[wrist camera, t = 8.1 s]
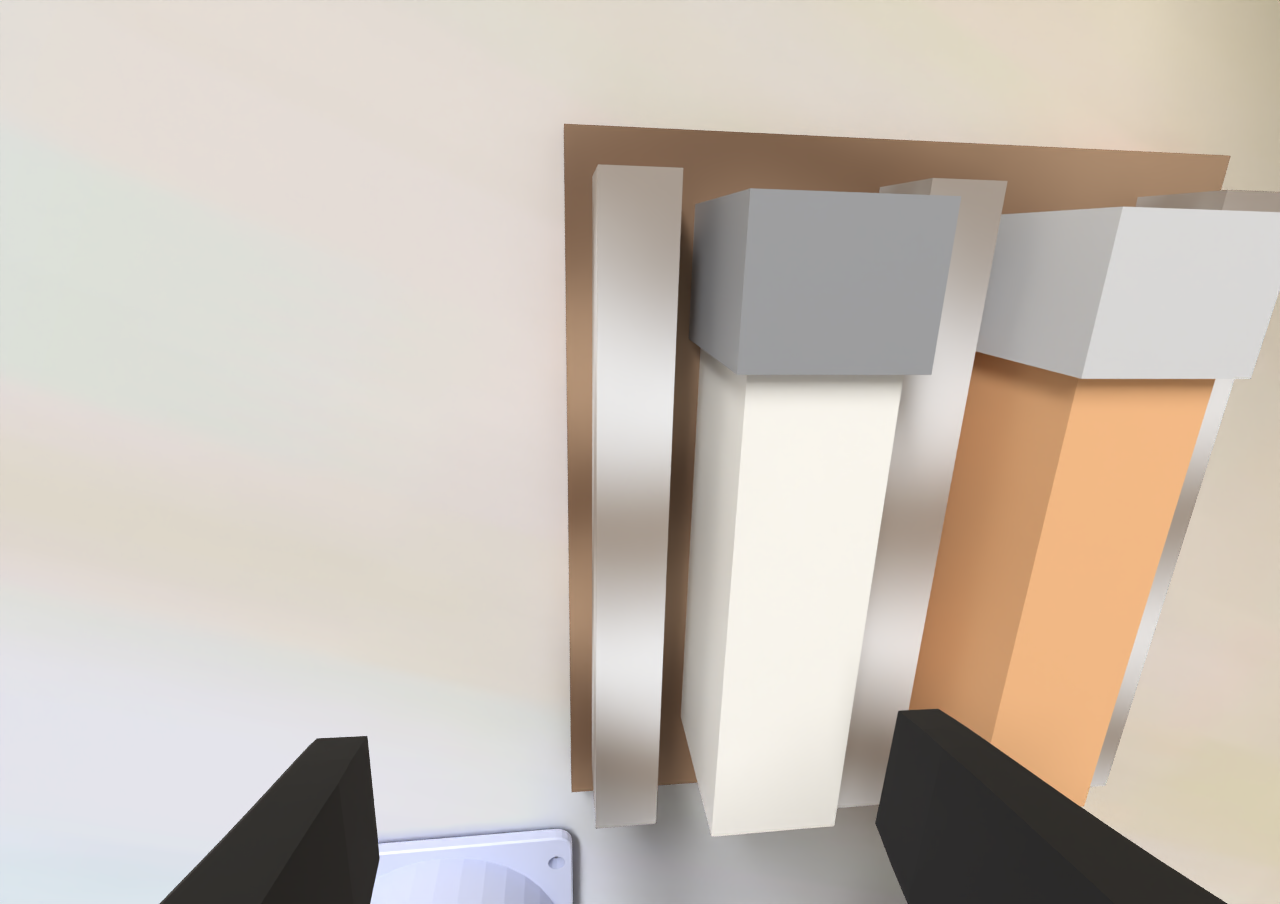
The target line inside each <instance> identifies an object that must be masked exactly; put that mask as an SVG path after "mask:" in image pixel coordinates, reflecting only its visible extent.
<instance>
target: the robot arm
mask: <svg viewBox="0 0 1280 904" xmlns="http://www.w3.org/2000/svg"><path fill="white" fill-rule="evenodd" d="M876 826H877V829H878V831H879V834H880V836H881V839H882V842H883V844H884V847H885V849H886V852H887V855H888V857H889V860H890V862H891V865H892V867H893V870H894V872H895V875H896V877H897V879H898V882H899V884H900V886H901V889H902V891H903V894H904V896H905V898H906V901H907V903H908V904H1227V903H1225V902H1224V901H1222V900H1221V899H1219V898H1218V897H1216V896H1214V895H1213V894H1211V893H1210V892H1208V891H1207V890H1205V889H1204V888H1202V887H1200V886H1199V885H1197V884H1196V883H1194V882H1193V881H1191V880H1190V879H1188V878H1186V877H1185V876H1183V875H1182V874H1180V873H1179V872H1177V871H1176V870H1174V869H1172V868H1171V867H1169V866H1168V865H1166V864H1165V863H1163V862H1161V861H1160V860H1158V859H1157V858H1155V857H1154V856H1152V855H1151V854H1149V853H1148V852H1146V851H1145V850H1143V849H1142V848H1140V847H1139V846H1137V845H1136V844H1134V843H1133V842H1131V841H1130V840H1128V839H1127V838H1125V837H1124V836H1122V835H1121V834H1120V833H1118V832H1117V831H1115V830H1114V829H1112V828H1111V827H1109V826H1108V825H1106V824H1105V823H1103V822H1102V821H1100V820H1099V819H1098V818H1096V817H1095V816H1093V815H1092V814H1090V813H1089V812H1087V811H1086V810H1085V809H1083V808H1082V807H1080V806H1079V805H1077V804H1076V803H1074V802H1073V801H1072V800H1070V799H1069V798H1067V797H1066V796H1064V795H1063V794H1062V793H1060V792H1059V791H1057V790H1056V789H1054V788H1053V787H1052V786H1050V785H1049V784H1047V783H1046V782H1044V781H1043V780H1042V779H1040V778H1039V777H1037V776H1036V775H1035V774H1033V773H1032V772H1030V771H1029V770H1027V769H1026V768H1025V767H1023V766H1022V765H1020V764H1019V763H1018V762H1016V761H1015V760H1013V759H1012V758H1010V757H1009V756H1008V755H1006V754H1005V753H1003V752H1002V751H1001V750H999V749H998V748H996V747H995V746H993V745H992V744H991V743H989V742H988V741H986V740H985V739H983V738H982V737H981V736H979V735H978V734H976V733H975V732H973V731H972V730H970V729H969V728H967V727H966V726H964V725H963V724H961V723H960V722H958V721H957V720H955V719H954V718H952V717H951V716H949V715H948V714H946V713H944V712H943V711H941V710H940V709H921V710H901V711H898V714H897V719H896V724H895V729H894V734H893V739H892V744H891V749H890V754H889V759H888V763H887V768H886V773H885V778H884V783H883V788H882V793H881V798H880V803H879V808H878V813H877V818H876ZM556 856H557V857H558V858H554V857H556ZM160 904H573V869H572V837H571V835H570V834H569V833H568V832H567V831H565V830H563V829H547V830H535V831H523V832H511V833H500V834H488V835H476V836H464V837H452V838H440V839H428V840H416V841H404V842H392V843H381V844H378V837H377V827H376V817H375V808H374V798H373V788H372V778H371V768H370V758H369V749H368V739H367V736H360V737H339V738H318V739H316V740H315V741H314V742H313V743H312V744H311V745H310V746H308V747H307V749H306V750H305V751H304V752H303V753H302V754H301V755H300V756H299V757H298V758H297V759H296V760H295V761H294V762H293V764H292V765H291V766H290V767H289V768H288V769H287V770H286V771H285V772H284V773H283V774H282V775H281V777H280V778H279V779H278V780H277V781H276V782H275V783H274V784H273V785H272V786H271V787H270V789H269V790H268V791H267V792H266V793H265V794H264V795H263V796H262V797H261V798H260V799H259V800H258V801H257V803H256V804H255V805H254V806H253V807H252V808H251V809H250V810H249V811H248V812H247V813H246V814H245V815H244V816H243V818H242V819H241V820H240V821H239V822H238V823H237V824H236V825H235V826H234V827H233V828H232V829H231V830H230V831H229V832H228V834H227V835H226V836H225V837H224V838H223V839H222V840H221V841H220V842H219V843H218V844H217V845H216V846H215V847H214V848H213V849H212V850H211V851H210V852H209V853H208V854H207V855H206V856H205V857H204V858H203V860H202V861H201V862H200V863H199V864H198V865H197V866H196V867H195V868H194V869H193V870H192V871H191V872H190V873H189V874H188V875H187V876H186V877H185V878H184V879H183V880H182V881H181V882H180V883H179V884H178V885H177V886H176V887H175V888H174V889H173V890H172V891H171V892H170V894H169V895H168V896H167V897H166V898H165V899H164V900H163V901H162V902H161V903H160Z"/></svg>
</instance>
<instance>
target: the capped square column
mask: <svg viewBox="0 0 1280 904" xmlns="http://www.w3.org/2000/svg"><path fill="white" fill-rule="evenodd" d="M1279 291H1280V212H1258V211H1230V210H1203V209H1175V208H1148V207H1109V208H1094V209H1078V210H1063V211H1048V212H1032V213H1017V214H1001V219H1000V224H999V229H998V235H997V240H996V245H995V251H994V256H993V261H992V267H991V272H990V277H989V283H988V288H987V293H986V299H985V304H984V309H983V315H982V320H981V325H980V331H979V336H978V341H977V347H976V352H975V357H974V363H973V368H972V373H971V379H970V384H969V389H968V395H967V400H966V405H965V411H964V416H963V421H962V427H961V432H960V437H959V443H958V448H957V453H956V459H955V464H954V470H953V475H952V480H951V486H950V491H949V496H948V502H947V507H946V512H945V518H944V523H943V528H942V534H941V539H940V544H939V550H938V555H937V560H936V566H935V571H934V576H933V582H932V587H931V592H930V598H929V603H928V608H927V614H926V619H925V624H924V630H923V635H922V640H921V646H920V651H919V656H918V662H917V667H916V672H915V678H914V683H913V688H912V694H911V699H910V704H909V710H921V709H940V710H941V711H943V712H944V713H946V714H948V715H949V716H951V717H952V718H954V719H955V720H957V721H958V722H960V723H961V724H963V725H964V726H966V727H967V728H969V729H970V730H972V731H973V732H975V733H976V734H978V735H979V736H981V737H982V738H983V739H985V740H986V741H988V742H989V743H991V744H992V745H993V746H995V747H996V748H998V749H999V750H1001V751H1002V752H1003V753H1005V754H1006V755H1008V756H1009V757H1010V758H1012V759H1013V760H1015V761H1016V762H1018V763H1019V764H1020V765H1022V766H1023V767H1025V768H1026V769H1027V770H1029V771H1030V772H1032V773H1033V774H1035V775H1036V776H1037V777H1039V778H1040V779H1042V780H1043V781H1044V782H1046V783H1047V784H1049V785H1050V786H1052V787H1053V788H1054V789H1056V790H1057V791H1059V792H1060V793H1062V794H1063V795H1064V796H1066V797H1067V798H1069V799H1070V800H1072V801H1073V802H1074V803H1076V804H1077V805H1079V806H1084V804H1085V801H1086V798H1087V794H1088V791H1089V788H1090V785H1091V781H1092V778H1093V775H1094V772H1095V768H1096V765H1097V762H1098V759H1099V756H1100V752H1101V749H1102V746H1103V743H1104V739H1105V736H1106V733H1107V730H1108V726H1109V723H1110V720H1111V717H1112V713H1113V710H1114V707H1115V704H1116V700H1117V697H1118V694H1119V691H1120V687H1121V684H1122V681H1123V678H1124V674H1125V671H1126V668H1127V665H1128V661H1129V658H1130V655H1131V652H1132V648H1133V645H1134V642H1135V639H1136V635H1137V632H1138V629H1139V626H1140V623H1141V619H1142V616H1143V613H1144V610H1145V606H1146V603H1147V600H1148V597H1149V593H1150V590H1151V587H1152V584H1153V580H1154V577H1155V574H1156V571H1157V567H1158V564H1159V561H1160V558H1161V554H1162V551H1163V548H1164V545H1165V541H1166V538H1167V535H1168V532H1169V528H1170V525H1171V522H1172V519H1173V515H1174V512H1175V509H1176V506H1177V503H1178V499H1179V496H1180V493H1181V490H1182V486H1183V483H1184V480H1185V477H1186V473H1187V470H1188V467H1189V464H1190V460H1191V457H1192V454H1193V451H1194V447H1195V444H1196V441H1197V438H1198V434H1199V431H1200V428H1201V425H1202V421H1203V418H1204V415H1205V412H1206V408H1207V405H1208V402H1209V399H1210V395H1211V392H1212V389H1213V386H1214V382H1215V379H1251V377H1252V373H1253V370H1254V367H1255V364H1256V361H1257V358H1258V355H1259V352H1260V349H1261V346H1262V343H1263V340H1264V337H1265V334H1266V330H1267V327H1268V324H1269V321H1270V318H1271V315H1272V312H1273V309H1274V306H1275V303H1276V300H1277V297H1278V294H1279Z"/></svg>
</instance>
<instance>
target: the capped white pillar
mask: <svg viewBox="0 0 1280 904" xmlns="http://www.w3.org/2000/svg"><path fill="white" fill-rule="evenodd" d="M960 202H961V196H943V195H916V194H889V193H862V192H835V191H808V190H781V189H754V188H750V189H747V190H743V191H740V192H736V193H733V194H729V195H726V196H722V197H719V198H715V199H712V200H708V201H705V202H701V203H698V204H695V217H694V238H693V259H692V280H691V301H690V322H689V339H690V340H691V341H692V342H694V343H695V344H696V345H698V346H699V347H700V348H701V349H700V368H699V386H698V405H697V423H696V442H695V461H694V479H693V498H692V517H691V535H690V554H689V573H688V591H687V610H686V629H685V647H684V666H683V685H682V703H681V719H682V723H683V727H684V731H685V735H686V739H687V743H688V747H689V751H690V755H691V759H692V763H693V767H694V770H695V774H696V778H697V782H698V786H699V790H700V794H701V798H702V802H703V806H704V810H705V814H706V818H707V821H708V825H709V829H710V833H711V837H715V836H726V835H738V834H749V833H760V832H772V831H783V830H794V829H806V828H817V827H829V826H834V824H835V818H836V811H837V805H838V798H839V792H840V785H841V779H842V772H843V766H844V759H845V753H846V746H847V740H848V733H849V727H850V720H851V714H852V707H853V701H854V694H855V688H856V681H857V675H858V668H859V662H860V655H861V649H862V643H863V636H864V630H865V623H866V617H867V610H868V604H869V597H870V591H871V584H872V578H873V571H874V565H875V558H876V552H877V545H878V539H879V532H880V526H881V519H882V513H883V506H884V500H885V493H886V487H887V480H888V474H889V467H890V461H891V455H892V448H893V442H894V435H895V429H896V422H897V416H898V409H899V403H900V396H901V390H902V383H903V377H904V375H931V374H932V369H933V363H934V357H935V351H936V345H937V339H938V333H939V327H940V321H941V315H942V309H943V303H944V297H945V291H946V285H947V279H948V273H949V267H950V261H951V255H952V249H953V243H954V237H955V231H956V226H957V220H958V214H959V208H960Z"/></svg>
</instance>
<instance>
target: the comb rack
mask: <svg viewBox="0 0 1280 904" xmlns="http://www.w3.org/2000/svg"><path fill="white" fill-rule="evenodd" d="M1229 160H1230V156H1225V155H1204V154H1183V153H1163V152H1142V151H1121V150H1100V149H1079V148H1058V147H1037V146H1016V145H996V144H975V143H954V142H933V141H912V140H891V139H870V138H849V137H829V136H808V135H787V134H766V133H745V132H724V131H703V130H682V129H661V128H641V127H620V126H599V125H578V124H564V183H565V271H566V358H567V445H568V532H569V619H570V706H571V783H572V792H580V791H593V792H594V808H595V825H596V829H597V828H609V827H621V826H633V825H645V824H656V812H657V788H658V785H670V784H683V783H696V782H697V778H696V774H695V770H694V767H693V763H692V759H691V755H690V751H689V747H688V743H687V739H686V735H685V731H684V727H683V723H682V719H681V703H682V685H683V666H684V647H685V629H686V610H687V591H688V573H689V554H690V535H691V517H692V498H693V479H694V461H695V442H696V423H697V405H698V386H699V368H700V349H701V348H700V347H699V346H698V345H696V344H695V343H694V342H692V341H691V340H690V339H689V322H690V301H691V280H692V259H693V238H694V217H695V204H698V203H701V202H705V201H708V200H712V199H715V198H719V197H722V196H726V195H729V194H733V193H736V192H740V191H743V190H747V189H750V188H754V189H781V190H808V191H835V192H862V193H889V194H916V195H943V196H961V202H960V208H959V214H958V220H957V226H956V231H955V237H954V243H953V249H952V255H951V261H950V267H949V273H948V279H947V285H946V291H945V297H944V303H943V309H942V315H941V321H940V327H939V333H938V339H937V345H936V351H935V357H934V363H933V369H932V374H931V375H904V377H903V383H902V390H901V396H900V403H899V409H898V416H897V422H896V429H895V435H894V442H893V448H892V455H891V461H890V467H889V474H888V480H887V487H886V493H885V500H884V506H883V513H882V519H881V526H880V532H879V539H878V545H877V552H876V558H875V565H874V571H873V578H872V584H871V591H870V597H869V604H868V610H867V617H866V623H865V630H864V636H863V643H862V649H861V655H860V662H859V668H858V675H857V681H856V688H855V694H854V701H853V707H852V714H851V720H850V727H849V733H848V740H847V746H846V753H845V759H844V766H843V772H842V779H841V785H840V792H839V798H838V805H837V808H845V807H857V806H869V805H879V803H880V798H881V793H882V788H883V783H884V778H885V773H886V768H887V763H888V759H889V754H890V749H891V744H892V739H893V734H894V729H895V724H896V719H897V714H898V711H901V710H909V704H910V699H911V694H912V688H913V683H914V678H915V672H916V667H917V662H918V656H919V651H920V646H921V640H922V635H923V630H924V624H925V619H926V614H927V608H928V603H929V598H930V592H931V587H932V582H933V576H934V571H935V566H936V560H937V555H938V550H939V544H940V539H941V534H942V528H943V523H944V518H945V512H946V507H947V502H948V496H949V491H950V486H951V480H952V475H953V470H954V464H955V459H956V453H957V448H958V443H959V437H960V432H961V427H962V421H963V416H964V411H965V405H966V400H967V395H968V389H969V384H970V379H971V373H972V368H973V363H974V357H975V352H976V347H977V341H978V336H979V331H980V325H981V320H982V315H983V309H984V304H985V299H986V293H987V288H988V283H989V277H990V272H991V267H992V261H993V256H994V251H995V245H996V240H997V235H998V229H999V224H1000V219H1001V214H1017V213H1032V212H1048V211H1063V210H1078V209H1094V208H1109V207H1148V208H1175V209H1203V210H1230V211H1258V212H1280V192H1267V191H1242V190H1221V188H1222V184H1223V181H1224V177H1225V174H1226V170H1227V167H1228V163H1229ZM1234 380H1235V379H1215V382H1214V386H1213V389H1212V392H1211V395H1210V399H1209V402H1208V405H1207V408H1206V412H1205V415H1204V418H1203V421H1202V425H1201V428H1200V431H1199V434H1198V438H1197V441H1196V444H1195V447H1194V451H1193V454H1192V457H1191V460H1190V464H1189V467H1188V470H1187V473H1186V477H1185V480H1184V483H1183V486H1182V490H1181V493H1180V496H1179V499H1178V503H1177V506H1176V509H1175V512H1174V515H1173V519H1172V522H1171V525H1170V528H1169V532H1168V535H1167V538H1166V541H1165V545H1164V548H1163V551H1162V554H1161V558H1160V561H1159V564H1158V567H1157V571H1156V574H1155V577H1154V580H1153V584H1152V587H1151V590H1150V593H1149V597H1148V600H1147V603H1146V606H1145V610H1144V613H1143V616H1142V619H1141V623H1140V626H1139V629H1138V632H1137V635H1136V639H1135V642H1134V645H1133V648H1132V652H1131V655H1130V658H1129V661H1128V665H1127V668H1126V671H1125V674H1124V678H1123V681H1122V684H1121V687H1120V691H1119V694H1118V697H1117V700H1116V704H1115V707H1114V710H1113V713H1112V717H1111V720H1110V723H1109V726H1108V730H1107V733H1106V736H1105V739H1104V743H1103V746H1102V749H1101V752H1100V756H1099V759H1098V762H1097V765H1096V768H1095V772H1094V775H1093V778H1092V781H1091V785H1090V787H1094V786H1105V785H1106V783H1107V779H1108V776H1109V773H1110V770H1111V767H1112V764H1113V761H1114V757H1115V754H1116V751H1117V748H1118V745H1119V742H1120V739H1121V735H1122V732H1123V729H1124V726H1125V723H1126V720H1127V716H1128V713H1129V710H1130V707H1131V704H1132V701H1133V698H1134V694H1135V691H1136V688H1137V685H1138V682H1139V679H1140V676H1141V672H1142V669H1143V666H1144V663H1145V660H1146V657H1147V654H1148V650H1149V647H1150V644H1151V641H1152V638H1153V635H1154V631H1155V628H1156V625H1157V622H1158V619H1159V616H1160V613H1161V609H1162V606H1163V603H1164V600H1165V597H1166V594H1167V591H1168V587H1169V584H1170V581H1171V578H1172V575H1173V572H1174V569H1175V565H1176V562H1177V559H1178V556H1179V553H1180V550H1181V546H1182V543H1183V540H1184V537H1185V534H1186V531H1187V528H1188V524H1189V521H1190V518H1191V515H1192V512H1193V509H1194V506H1195V502H1196V499H1197V496H1198V493H1199V490H1200V487H1201V483H1202V480H1203V477H1204V474H1205V471H1206V468H1207V465H1208V461H1209V458H1210V455H1211V452H1212V449H1213V446H1214V443H1215V439H1216V436H1217V433H1218V430H1219V427H1220V424H1221V421H1222V417H1223V414H1224V411H1225V408H1226V405H1227V402H1228V398H1229V395H1230V392H1231V389H1232V386H1233V383H1234Z"/></svg>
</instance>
